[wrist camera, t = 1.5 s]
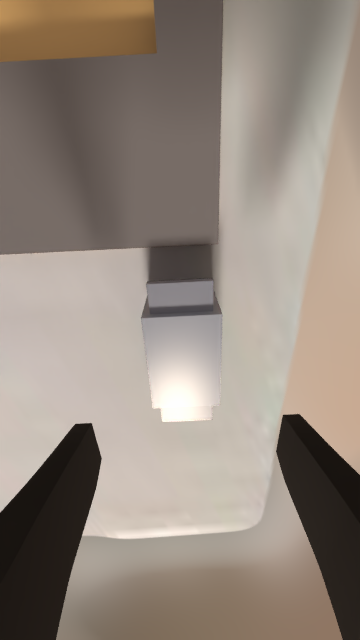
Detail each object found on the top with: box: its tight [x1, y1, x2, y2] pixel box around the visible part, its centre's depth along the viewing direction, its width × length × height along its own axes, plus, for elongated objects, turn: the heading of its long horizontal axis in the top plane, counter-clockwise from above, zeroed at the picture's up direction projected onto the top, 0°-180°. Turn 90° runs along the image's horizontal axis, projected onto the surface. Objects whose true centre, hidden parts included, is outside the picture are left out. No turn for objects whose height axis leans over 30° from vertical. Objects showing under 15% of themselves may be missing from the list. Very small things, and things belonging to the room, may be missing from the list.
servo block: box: [141, 278, 222, 422], centre depth 16 cm, size 4×9×4 cm, turn 3°
